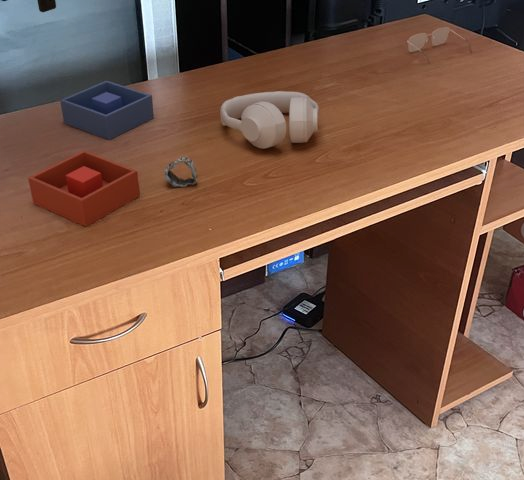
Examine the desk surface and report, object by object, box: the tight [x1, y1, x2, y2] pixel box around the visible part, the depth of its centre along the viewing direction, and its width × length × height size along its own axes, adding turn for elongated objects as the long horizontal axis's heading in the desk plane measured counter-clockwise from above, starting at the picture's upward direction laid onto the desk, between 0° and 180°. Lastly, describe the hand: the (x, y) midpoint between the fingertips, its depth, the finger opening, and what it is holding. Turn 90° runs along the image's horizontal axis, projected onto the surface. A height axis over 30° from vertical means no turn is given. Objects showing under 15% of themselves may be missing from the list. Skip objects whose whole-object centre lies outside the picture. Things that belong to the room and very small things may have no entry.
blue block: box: [92, 92, 122, 114], centre depth 150 cm, size 4×4×4 cm
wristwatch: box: [164, 155, 198, 188], centre depth 131 cm, size 3×5×5 cm
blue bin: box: [59, 80, 155, 141], centre depth 150 cm, size 12×12×5 cm
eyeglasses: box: [406, 26, 473, 64], centre depth 180 cm, size 14×8×4 cm, turn 124°
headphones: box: [219, 90, 320, 149], centre depth 146 cm, size 18×8×20 cm
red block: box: [66, 166, 103, 198], centre depth 127 cm, size 4×4×4 cm
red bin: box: [27, 149, 141, 228], centre depth 127 cm, size 12×12×5 cm
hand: (28, 4), depth 132 cm, fingers open, 9 cm apart
